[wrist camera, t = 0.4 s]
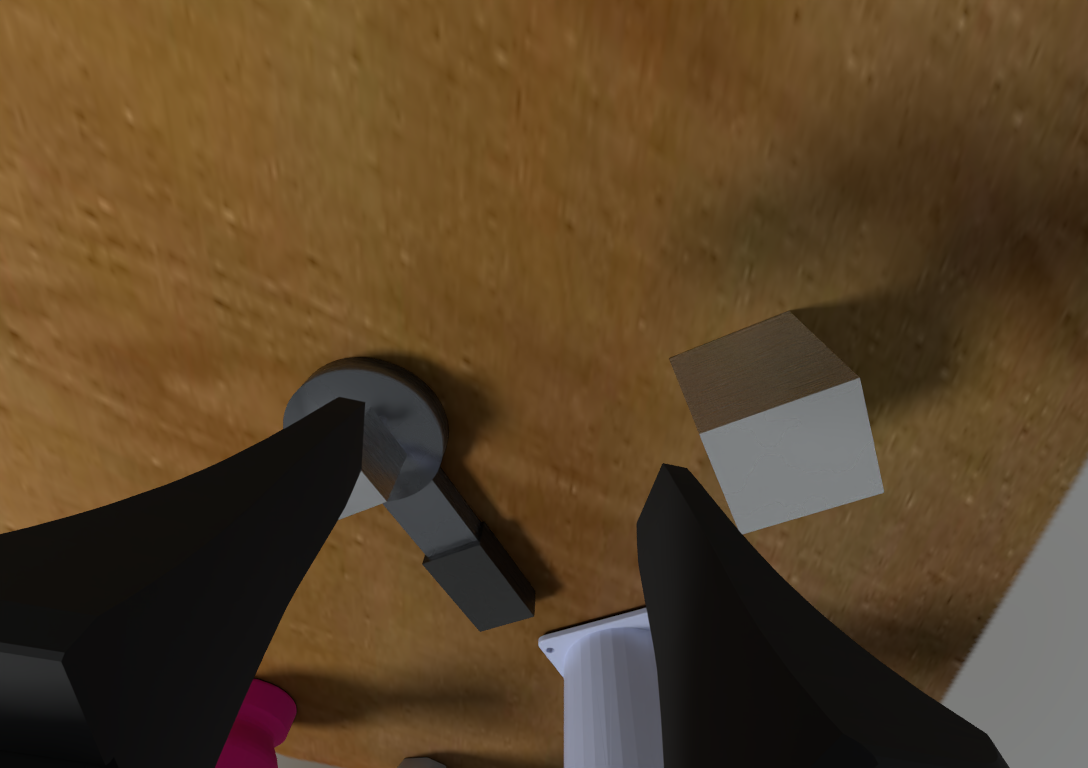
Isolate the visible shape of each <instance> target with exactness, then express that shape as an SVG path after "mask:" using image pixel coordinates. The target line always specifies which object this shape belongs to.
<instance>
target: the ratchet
mask: <svg viewBox="0 0 1088 768" xmlns="http://www.w3.org/2000/svg"><path fill="white" fill-rule="evenodd" d="M338 397H343V398H348V399H353V400H358V401H362V402H365V416H364V434H363V452H362V470H361V472H360V475H359V477H358V479H357V482H356V484H355V487H354V489H353V491H352V494H351V496H350V498H349V500H348V502H347V505H346V507H345V509H344V510H343V512H342V514H341V516H340V517H339V519H342V518H344V517H347V516H350V515H352V514H355V513H358V512H360V511H363V510H366V509H368V508H371V507H374V506H376V505H379V504H382V503H383V505H384V506H385V507H386V508H387V509H388V511H389V512H390V513H391V514H392V515H393V517H394V518H395V519H396V520H397V521H398V523H399V524H400V525H401V526H402V527H403V528H404V530H405V531H406V532H407V533H408V534H409V536H410V537H411V538H412V539H413V540H414V542H415V543H416V544H417V545H418V546H419V548H420V549H421V550H422V551H423V552H424V553H425V557H424V560H423V563H422V564H423V566H424V567H425V568H426V569H427V570H428V571H429V573H430V574H431V575H432V576H433V577H434V579H435V580H436V581H437V582H438V583H439V584H440V586H441V587H442V588H443V589H444V590H445V591H446V593H447V594H448V595H449V596H450V597H451V598H452V600H453V601H454V602H455V603H456V604H457V605H458V607H459V608H460V609H461V610H462V611H463V612H464V614H465V615H466V616H467V617H468V618H469V619H470V621H471V622H472V623H473V624H474V625H475V626H476V628H477V629H478V630H479V631H480V632H481V631H484V630H488V629H491V628H495V627H499V626H502V625H506V624H509V623H513V622H516V621H520V620H523V619H527V618H530V617H534V613H535V590H534V589H533V588H532V586H531V585H530V583H529V582H528V581H527V579H526V578H525V577H524V575H523V574H522V572H521V571H520V570H519V568H518V567H517V566H516V564H515V563H514V561H513V560H512V559H511V557H510V556H509V555H508V553H507V552H506V551H505V549H504V548H503V546H502V545H501V544H500V542H499V541H498V540H497V538H496V537H495V535H494V534H493V533H492V531H491V530H490V529H489V527H488V526H487V524H486V523H485V522H480V521H479V519H478V518H477V516H476V515H475V514H474V512H473V511H472V510H471V508H470V507H469V506H468V504H467V503H466V502H465V500H464V499H463V497H462V496H461V495H460V493H459V492H458V491H457V489H456V488H455V487H454V485H453V484H452V482H451V481H450V480H449V478H448V477H447V476H446V474H445V473H444V472H443V470H442V469H441V468H440V464H441V461H442V458H443V455H444V452H445V449H446V446H447V442H448V435H449V428H448V421H447V417H446V413H445V411H444V409H443V406H442V404H441V403H440V401H439V399H438V398H437V396H436V395H435V394H434V393H433V391H432V390H431V389H430V388H429V387H428V386H427V385H426V384H425V383H424V382H423V381H422V380H420V379H419V378H418V377H417V376H415V375H414V374H412V373H411V372H409V371H407V370H405V369H403V368H401V367H399V366H397V365H395V364H392V363H389V362H386V361H382V360H378V359H373V358H360V357H355V358H345V359H341V360H337V361H334V362H331V363H329V364H326V365H325V366H323V367H321V368H319V369H318V370H317V371H316V372H314V373H313V374H312V375H311V376H310V377H309V378H308V380H307V381H306V382H305V383H304V384H303V385H302V386H301V387H300V388H299V389H298V390H297V392H296V393H295V394H294V395H293V396H292V398H291V399H290V401H289V403H288V405H287V407H286V410H285V414H284V419H283V429H284V428H286V427H288V426H290V425H292V424H293V423H295V422H297V421H298V420H300V419H302V418H303V417H305V416H307V415H308V414H310V413H312V412H314V411H315V410H317V409H319V408H320V407H322V406H324V405H325V404H327V403H329V402H330V401H332V400H334V399H336V398H338ZM339 519H338V520H339Z"/></svg>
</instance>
